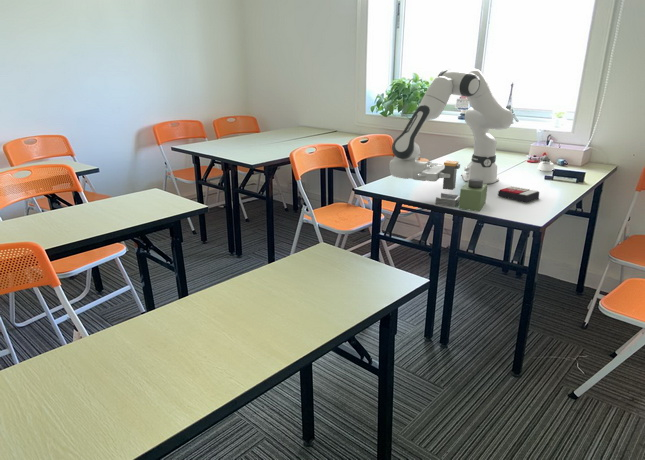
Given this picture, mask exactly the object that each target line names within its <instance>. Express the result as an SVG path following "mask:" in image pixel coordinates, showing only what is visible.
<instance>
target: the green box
mask: <svg viewBox="0 0 645 460" xmlns="http://www.w3.org/2000/svg"><path fill="white" fill-rule="evenodd" d="M487 191H488V184H483V180H481V179H469V182H468V181H466V183H465V184H464V185H463V186H462V187H461V188H460V192H459V195H460V200H459V203H458V209H459V208H462V210H467V209H470V210H469V211H474V210H476V211H475V212H480V211H481V210H482V208H483V207H484V206H485V205H486V200H487Z"/></svg>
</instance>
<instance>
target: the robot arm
mask: <svg viewBox="0 0 645 460" xmlns="http://www.w3.org/2000/svg"><path fill="white" fill-rule="evenodd" d="M451 95H455V96H462V97H466V98H467V101H468V103H469V105H470V107H468V109H467V110H466V111H465V112H464V113H465V114H464V122H465V124H466V125H467V126H468V127H469V128H470V130H471V132H472V135H473V140H474V141H473V142H474V143H473V154H472V156H471V161H470V162H469V163H468V164H467V165H466V166H465V167H464V172H462V173H461V176H462V178H463V179H462V180H463V182H469V179H481V180H483V184H487V185H488V184H494V183H496V182H499V181H500V178H498V165H497V164H496V160H497V155H496V150H497V139H496V138H495V137H494V136H493V135H492V134H491V132H490V130H498V131H499V130H507V129H509V127H510V126H512V124H513V121H514V114H513V112H512V110H510V109H508V108H507V107H505V106H503V105H502V104H501V103H500V102H499V101H498V100H497V99H496V98H495V97H494V96H493V93H492V91H491V89H490V86H489V84H488V82H487V79H486V77H485V75H483V73H482V72H481V70H479V69H477V68H472V69H469V70H467V71H465V70H460V69H459V70H457V69H451V68H450V69H449V68H447V69H444V70H442V71H441V72H440V73H438V75H437V77H436V78H434V80H433V81H432V82H431V83H430V85H429V87H428V88H427V90H426V92H425V93H424V95H423V97H422V99H421V101H420V103H419V105H418V107H417V108H416V110H415V111H414V113H413V115H412V116H411V117H410V119H409V121H408V123H407V124H406V126H405V128H404V130H403V131H402V132H401V133H400V135H398V136H397V137H396V138H395V139H394V140H393V142H392V145H391V152H392V153H393V155H394V157H393V158H392V159H391V160H390V161H389V164H388V170H389V173H390V175H391V176H392V177H395V178H399V179H403V180H404V179H405V180H409V179H411V180H414V181H422V182H426V181H428V182H437V181H438V180H439V179H444V178H450V177H451V174H450V173H447V174H446V173H444V168H445V165H444V163H443V164H442V163H437V162H436V163H435V162H433V161H430V160H429V161H427V162H420V161H418V159H419V157H421V147H420V146H419V144H418V143H416V142H415V141H416V138H417V136H418V135H419V134H420V132H421V130H422V128H423V126H424V124H426V123H427V122H429V121H433V120H435V119H437V118H439V117H440V115H441V114H442V113H443V111H444V109H445V107H447V106H446V105H447V103H448V102H449V100H450V97H451Z"/></svg>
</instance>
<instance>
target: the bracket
mask: <svg viewBox="0 0 645 460" xmlns="http://www.w3.org/2000/svg"><path fill="white" fill-rule="evenodd" d="M459 200H460V194H453V193H445V192H441V193H440V197H435V204H436V205H438V206H439V205H440V206H448V207H454V206H455V207H457V205H459Z"/></svg>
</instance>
